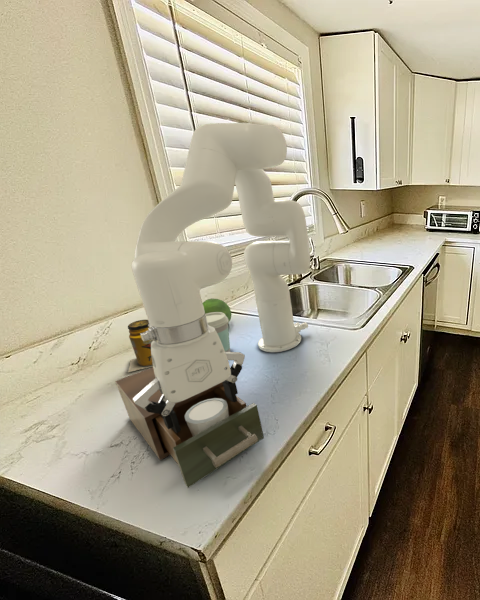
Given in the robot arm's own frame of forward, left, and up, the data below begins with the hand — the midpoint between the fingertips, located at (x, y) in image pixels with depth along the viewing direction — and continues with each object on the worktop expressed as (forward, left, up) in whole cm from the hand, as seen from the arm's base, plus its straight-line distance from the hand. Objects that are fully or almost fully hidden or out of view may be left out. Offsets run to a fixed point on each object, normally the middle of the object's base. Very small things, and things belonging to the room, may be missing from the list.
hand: (205, 412), depth 59 cm
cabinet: (0, -14, -9) cm, 17 cm away
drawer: (0, 0, -8) cm, 8 cm away
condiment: (-3, -47, -9) cm, 48 cm away
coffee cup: (-17, -35, -9) cm, 40 cm away
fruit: (-26, -56, -9) cm, 63 cm away
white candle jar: (0, 0, -7) cm, 7 cm away
